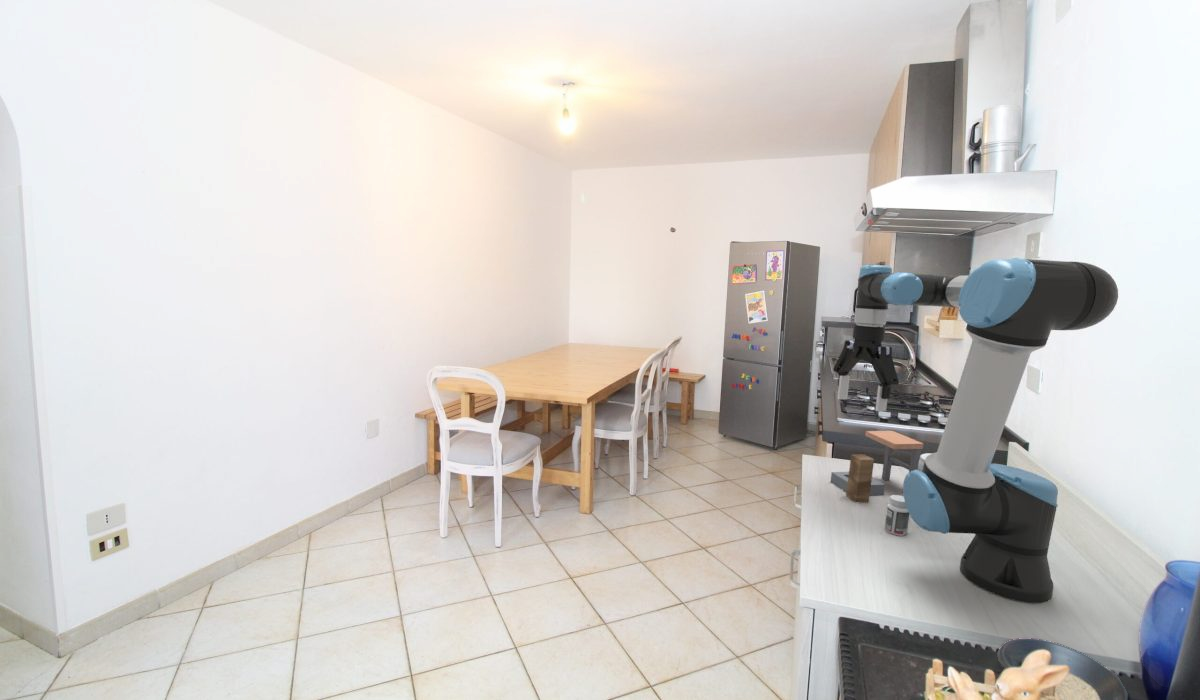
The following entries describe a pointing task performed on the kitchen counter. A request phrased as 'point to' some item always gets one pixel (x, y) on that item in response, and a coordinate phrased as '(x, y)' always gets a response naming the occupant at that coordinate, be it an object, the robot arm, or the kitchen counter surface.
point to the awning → (896, 442)
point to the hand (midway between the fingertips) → (860, 404)
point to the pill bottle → (897, 516)
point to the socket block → (842, 482)
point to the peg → (860, 478)
